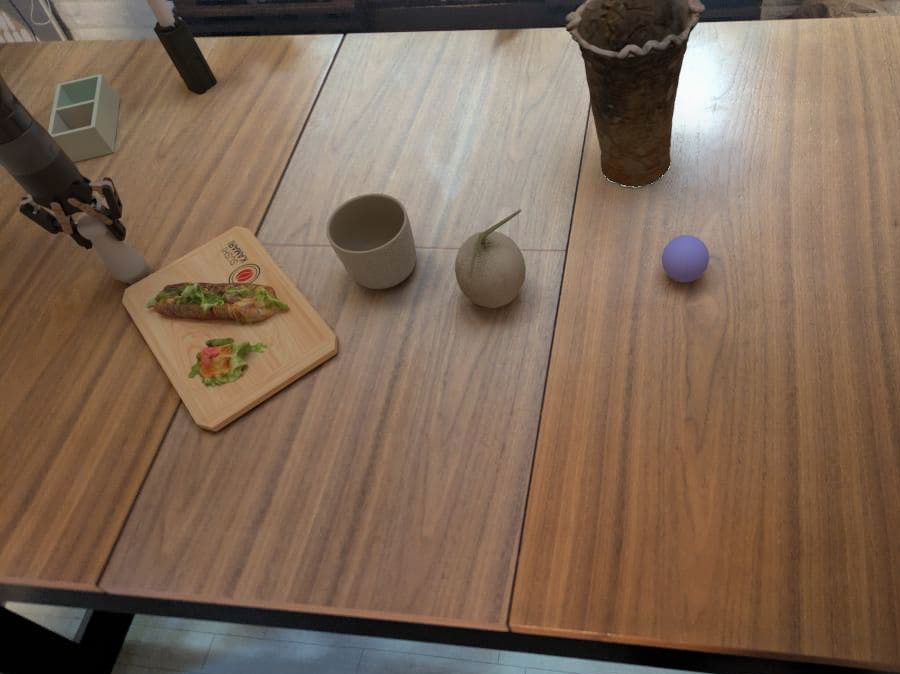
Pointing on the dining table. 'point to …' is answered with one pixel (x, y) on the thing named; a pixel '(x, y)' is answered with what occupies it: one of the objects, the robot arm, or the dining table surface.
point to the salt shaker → (113, 251)
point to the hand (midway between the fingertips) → (106, 241)
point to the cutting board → (228, 327)
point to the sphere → (685, 258)
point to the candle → (182, 48)
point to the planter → (373, 240)
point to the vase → (633, 79)
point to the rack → (85, 117)
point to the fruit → (490, 267)
